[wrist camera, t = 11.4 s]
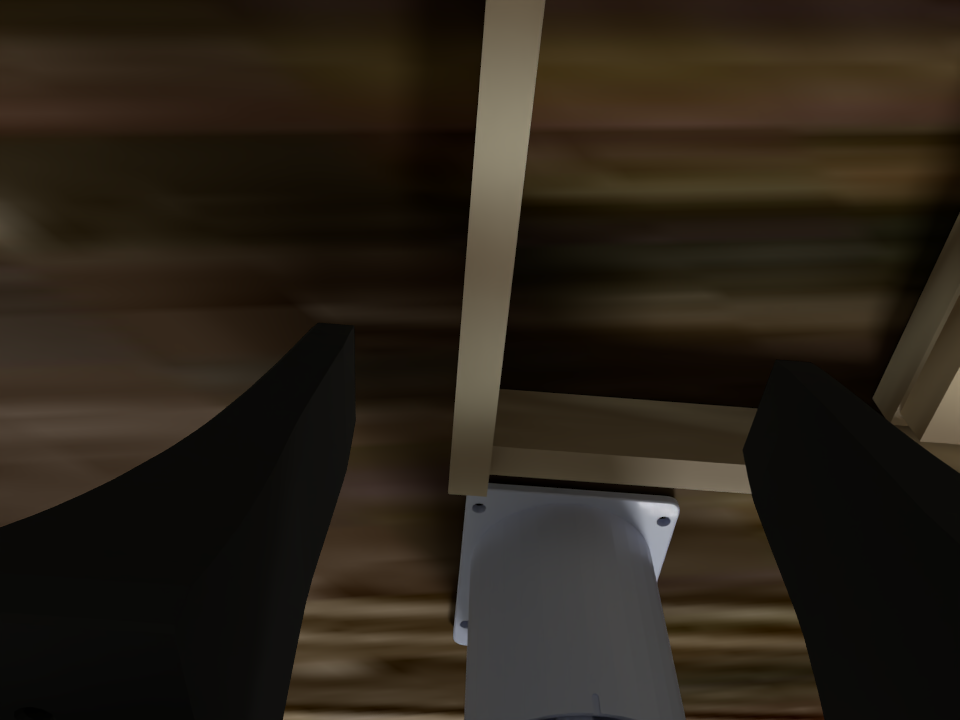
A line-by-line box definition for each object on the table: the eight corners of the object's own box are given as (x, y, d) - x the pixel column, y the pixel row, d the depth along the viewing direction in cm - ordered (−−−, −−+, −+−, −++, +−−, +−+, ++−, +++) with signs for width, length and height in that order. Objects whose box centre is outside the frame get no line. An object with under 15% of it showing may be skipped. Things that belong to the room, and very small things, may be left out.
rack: (974, 452, 27) (1040, 536, 24) (454, 412, 27) (447, 494, 23) (1274, -51, 18) (1445, -25, 15) (495, -125, 18) (494, -116, 14)
